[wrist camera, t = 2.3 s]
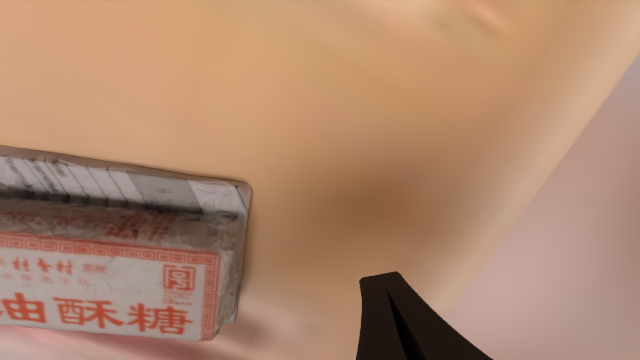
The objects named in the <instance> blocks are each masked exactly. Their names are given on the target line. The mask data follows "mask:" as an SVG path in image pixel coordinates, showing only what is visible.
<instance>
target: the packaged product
mask: <svg viewBox="0 0 640 360" xmlns="http://www.w3.org/2000/svg"><path fill="white" fill-rule="evenodd" d="M251 194H252V192H251V188H250V186H249V185H248V184H247V183H243V182H237V181H229V180H222V179H214V178H207V177H196V176H191V175H185V174H180V173H174V172H169V171H164V170H158V169H153V168H147V167H142V166H136V165H128V164H121V163H115V162H109V161H102V160H96V159H89V158H83V157H77V156H71V155H65V154H59V153H52V152H45V151H38V150H31V149H22V148H16V147H9V146H2V145H0V325H6V326H18V327H29V328H42V329H56V330H66V331H85V332H90V333H107V334H117V335H134V336H144V337H155V338H163V339H165V338H169V339H174V340H178V339H179V340H186V341H196V342H199V341H210V340H213V339H214V337H215V336H216V335H217V334H218V332H219V330H220V327H221V325H222V324H224V323H230V324H234V322H235V318H236V312H237V305H238V299H239V292H240V285H241V279H242V268H243V255H244V243H245V232H246V226H247V219H248V213H249V207H250V200H251Z"/></svg>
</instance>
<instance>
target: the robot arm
mask: <svg viewBox="0 0 640 360" xmlns="http://www.w3.org/2000/svg"><path fill="white" fill-rule="evenodd" d="M359 283H360V290H361V296H362V316H361V329H360V337H359V344H358V351H357V356H356V360H493V359H491V358H490V357H488V356H487V355H486V354H485V353H483V352H482V351H481V350H479V349H478V348H477V347H475V346H474V345H473V344H472V343H470V342H469V341H468V340H467V339H465V338H464V337H463V336H462V335H460V334H459V333H458V332H457V331H456V330H455V329H453V328H452V327H451V326H450V325H449V324H448V323H447V322H446V321H444V320H443V319H442V318H441V317H440V316H439V315H438V314H437V313H436V312H435V311H434V310H433V309H432V308H431V307H430V306H429V305H428V304H427V303H426V302H425V301H424V300H423V299H422V298H421V297H420V296H419V295H418V294H417V293H416V292H415V291H414V290H413V289H412V288H411V286H410V285H409V284H408V283H407V282H406V281H405V279H404V278H403V277H402V276H401V275H400V273H398V272H397V271H396V272H391V273H385V274H380V275H374V276H369V277H363V278H361V280H360V281H359Z"/></svg>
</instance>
